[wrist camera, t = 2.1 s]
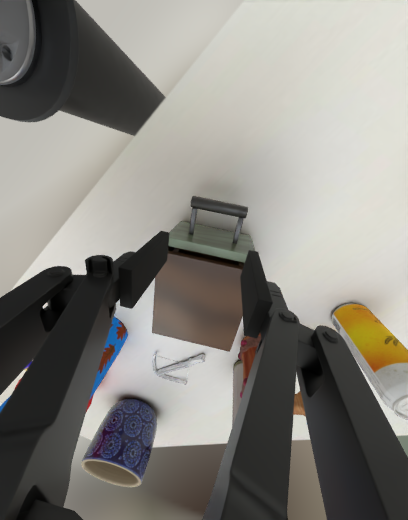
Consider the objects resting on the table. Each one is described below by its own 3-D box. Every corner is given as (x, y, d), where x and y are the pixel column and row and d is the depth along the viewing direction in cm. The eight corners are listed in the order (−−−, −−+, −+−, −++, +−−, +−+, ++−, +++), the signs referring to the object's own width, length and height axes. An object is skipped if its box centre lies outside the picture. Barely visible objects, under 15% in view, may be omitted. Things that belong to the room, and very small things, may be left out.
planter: (103, 397, 60) (67, 460, 47) (141, 388, 55) (111, 458, 42) (134, 423, 66) (110, 487, 52) (171, 418, 60) (154, 488, 47)
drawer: (184, 188, 27) (168, 195, 20) (260, 204, 27) (270, 216, 20) (173, 288, 36) (158, 316, 29) (230, 301, 35) (230, 334, 28)
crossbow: (173, 381, 52) (170, 389, 51) (143, 354, 49) (139, 361, 47) (219, 370, 46) (218, 378, 44) (187, 337, 42) (185, 345, 40)
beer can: (368, 322, 34) (456, 421, 21) (332, 329, 36) (391, 424, 22) (365, 297, 32) (461, 389, 18) (326, 305, 34) (388, 395, 20)
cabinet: (177, 228, 31) (156, 250, 23) (251, 244, 30) (258, 273, 22) (170, 296, 38) (152, 332, 29) (230, 310, 37) (229, 351, 29)
